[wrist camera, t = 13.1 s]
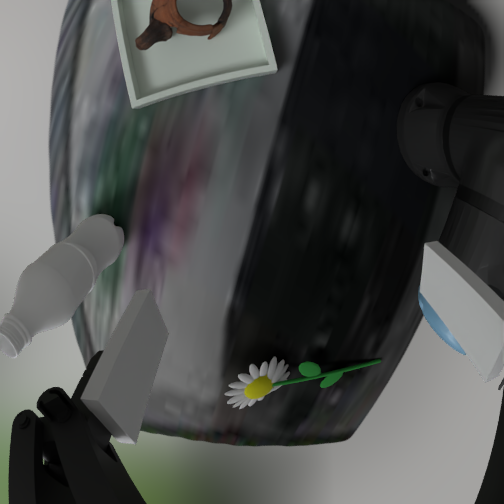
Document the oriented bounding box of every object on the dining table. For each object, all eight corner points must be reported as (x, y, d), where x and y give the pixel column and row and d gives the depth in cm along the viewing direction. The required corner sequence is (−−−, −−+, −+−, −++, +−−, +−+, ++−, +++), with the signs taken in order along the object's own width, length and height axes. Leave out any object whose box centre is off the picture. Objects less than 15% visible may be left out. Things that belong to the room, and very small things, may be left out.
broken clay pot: (178, -22, 25) (201, -44, 19) (224, 20, 31) (255, 8, 25) (112, 38, 26) (119, 22, 20) (165, 79, 32) (184, 75, 26)
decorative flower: (380, 327, 51) (218, 356, 48) (392, 344, 47) (221, 378, 44) (367, 370, 57) (226, 397, 54) (375, 386, 53) (229, 417, 50)
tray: (245, -37, 24) (245, -45, 22) (275, 73, 31) (277, 69, 29) (117, 0, 25) (110, -5, 23) (139, 108, 33) (131, 108, 31)
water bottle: (118, 263, 42) (34, 386, 20) (81, 238, 40) (-21, 343, 18) (136, 226, 40) (39, 347, 17) (97, 200, 38) (-25, 294, 15)
